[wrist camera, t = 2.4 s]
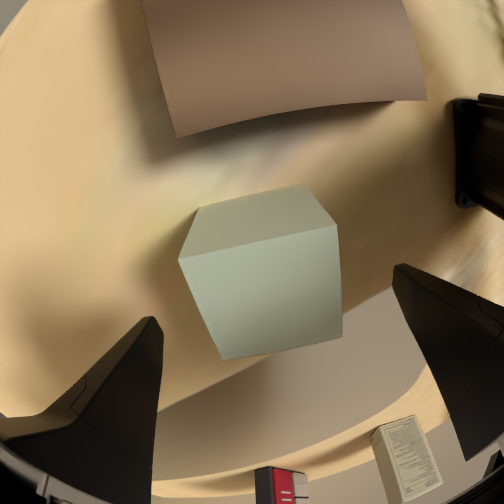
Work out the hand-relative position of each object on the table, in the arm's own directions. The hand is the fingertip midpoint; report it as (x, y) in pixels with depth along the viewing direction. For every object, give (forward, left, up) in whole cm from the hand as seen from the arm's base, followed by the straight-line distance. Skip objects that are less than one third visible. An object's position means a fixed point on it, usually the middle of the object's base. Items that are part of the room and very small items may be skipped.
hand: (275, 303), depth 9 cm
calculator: (-42, +5, -5) cm, 43 cm away
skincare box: (-31, -12, -5) cm, 34 cm away
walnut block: (+11, -3, -5) cm, 13 cm away
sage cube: (0, 0, -5) cm, 5 cm away
